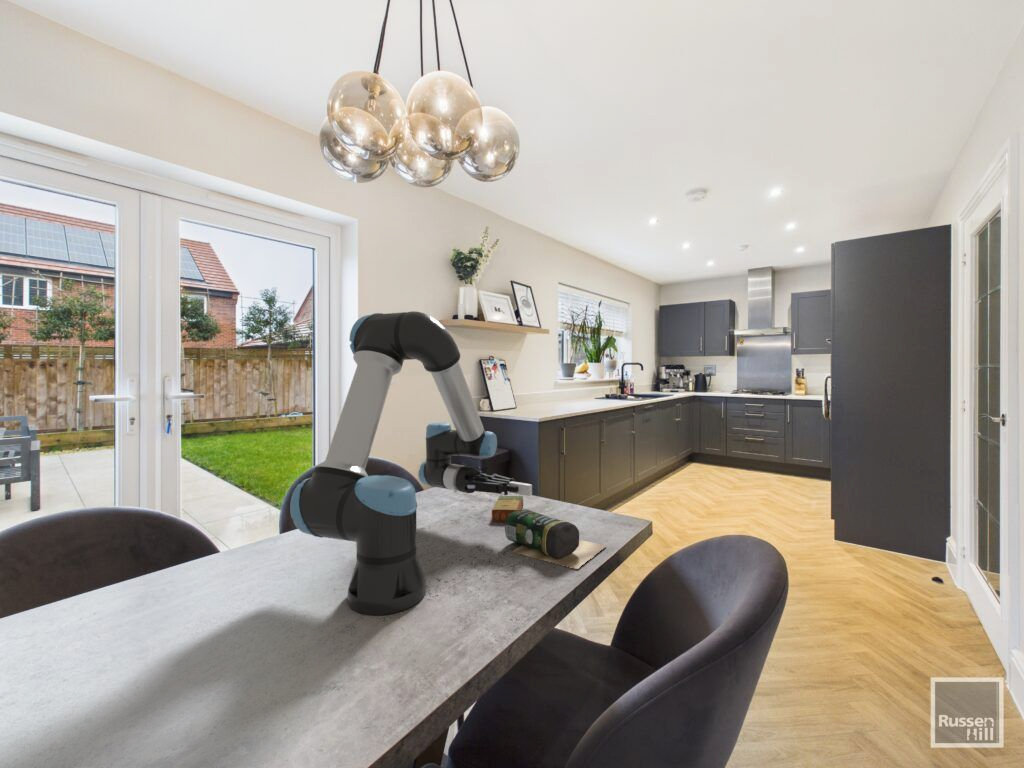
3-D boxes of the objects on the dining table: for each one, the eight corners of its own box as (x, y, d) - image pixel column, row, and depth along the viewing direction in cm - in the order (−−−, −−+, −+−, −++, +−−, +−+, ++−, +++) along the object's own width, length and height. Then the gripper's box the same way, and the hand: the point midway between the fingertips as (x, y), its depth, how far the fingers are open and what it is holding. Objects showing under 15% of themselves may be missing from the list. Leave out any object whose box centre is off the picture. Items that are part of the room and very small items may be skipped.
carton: (491, 523, 135) (491, 509, 135) (499, 507, 151) (498, 494, 150) (518, 523, 134) (518, 509, 134) (523, 507, 150) (523, 495, 150)
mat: (512, 552, 111) (512, 550, 111) (545, 533, 124) (545, 531, 124) (577, 570, 101) (577, 568, 101) (606, 547, 114) (606, 545, 114)
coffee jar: (529, 505, 123) (583, 521, 110) (528, 534, 123) (582, 554, 110) (503, 512, 116) (557, 530, 103) (502, 542, 116) (556, 564, 103)
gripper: (477, 486, 136) (543, 498, 123) (447, 496, 126) (516, 510, 112) (476, 462, 136) (543, 471, 122) (447, 469, 125) (516, 480, 112)
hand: (530, 490), depth 117 cm, fingers closed
